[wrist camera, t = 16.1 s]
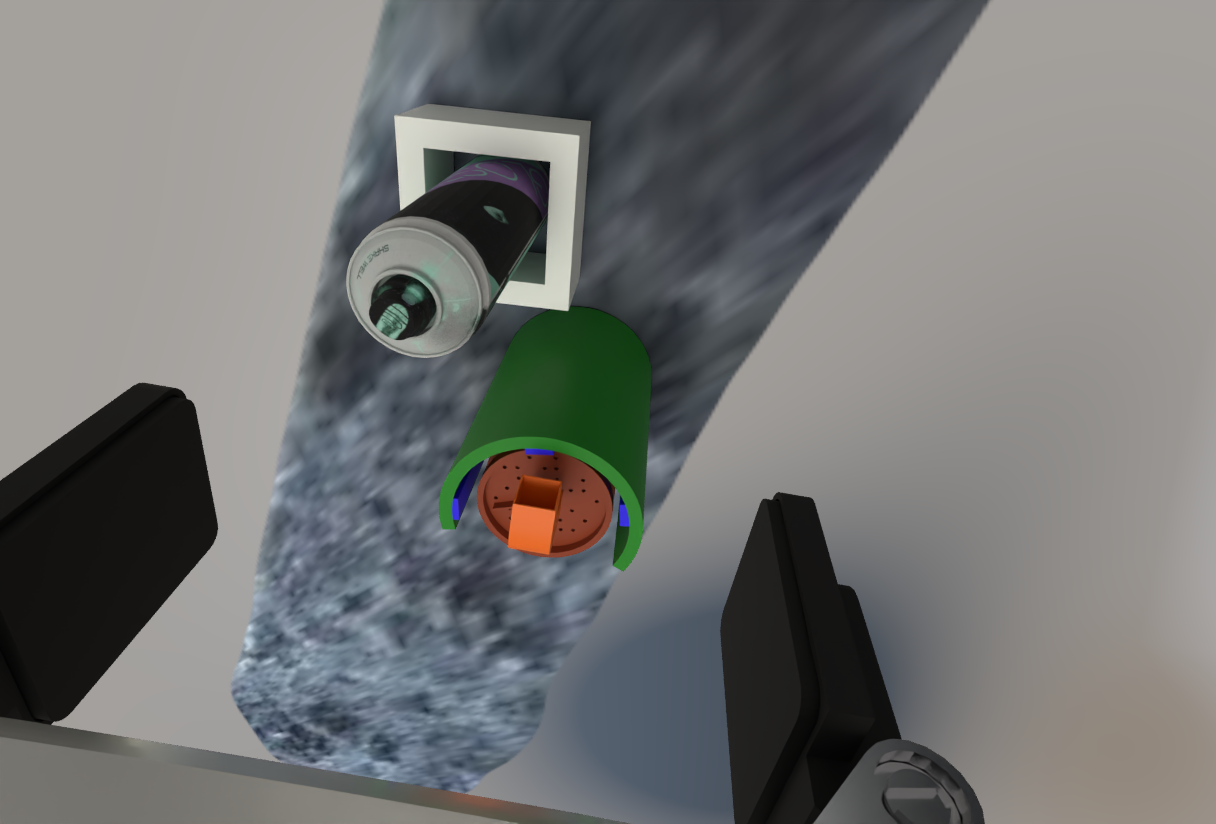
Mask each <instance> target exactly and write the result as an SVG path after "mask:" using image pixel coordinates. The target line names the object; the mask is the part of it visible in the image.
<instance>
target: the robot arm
mask: <svg viewBox="0 0 1216 824" xmlns="http://www.w3.org/2000/svg"><path fill="white" fill-rule="evenodd" d="M217 530H218V523H217V518H216V512H215V507H214V502H213V497H212V492H211V486H210V481H209V476H208V471H207V465H206V461H205V455H204V450H203V445H202V440H201V435H200V429H199V424H198V419H197V414H196V409H195V406H194V404H193V402H192V401H191V400H188V399H186V396H185V394H184V393H183V391H181V390H179V389H177V388H172V387H166V386H159V385H154V384H148V383H138V384H136V385H134V386H132V387H131V388H130V389H128V390H127V391H126V392H124V393H123V394H121V395H120V396H118V397H117V398H116V399H114V400H113V401H111V402H110V403H109V404H107V405H106V406H104V407H103V408H102V409H100V410H99V411H98V412H96V413H95V414H93V415H92V416H90V417H89V418H88V419H86V420H85V421H83V422H82V423H81V424H79V425H78V426H76V427H75V428H74V429H72V430H71V431H69V432H68V433H67V434H65V435H64V436H62V437H61V438H60V439H58V440H57V441H55V442H54V443H53V444H51V445H50V446H48V447H47V448H46V449H44V450H43V451H41V452H40V453H39V454H37V455H36V456H35V457H33V458H31V459H30V460H29V461H27V462H26V463H24V464H23V465H22V466H20V467H19V468H17V469H16V470H15V471H13V472H12V473H10V474H9V475H8V476H6V477H5V478H3V479H2V480H1V481H0V824H630V823H625V822H619V821H614V820H609V819H604V818H599V817H593V816H588V815H583V814H578V813H572V812H566V811H560V810H555V809H548V808H543V807H537V806H532V805H526V804H520V803H514V802H508V801H502V800H497V799H491V798H485V797H480V796H473V795H468V794H462V793H457V792H451V791H445V790H439V789H433V788H428V787H422V786H416V785H410V784H405V783H399V782H393V781H387V780H381V779H375V778H369V777H363V776H357V775H351V774H345V773H339V772H333V771H328V770H322V769H316V768H310V767H304V766H298V765H292V764H286V763H280V762H274V761H268V760H262V759H256V758H250V757H244V756H238V755H232V754H226V753H220V752H214V751H208V750H202V749H195V748H189V747H184V746H178V745H171V744H165V743H159V742H153V741H147V740H140V739H134V738H128V737H122V736H116V735H110V734H103V733H97V732H91V731H85V730H79V729H73V728H67V727H61V726H54V725H51V724H52V723H53V722H54V721H55V722H56V721H60V720H62V719H64V718H65V717H67V716H68V715H69V714H70V713H71V712H72V711H73V710H74V708H75V707H76V706H77V705H78V704H79V703H80V701H81V700H82V699H83V698H84V697H85V696H86V694H87V693H88V692H89V691H90V690H91V688H92V687H93V686H94V685H95V684H96V683H97V681H98V680H99V679H100V678H101V677H102V676H103V674H104V673H105V672H106V671H107V670H108V668H109V667H110V666H111V665H112V664H113V663H114V661H115V660H116V659H117V658H118V657H119V655H120V654H121V653H122V652H123V650H125V648H126V647H127V646H128V645H129V644H130V642H131V641H132V640H133V639H134V638H135V636H136V635H137V634H138V633H139V632H140V631H141V629H142V628H143V627H144V626H145V625H146V623H147V622H148V621H149V620H150V619H151V618H152V616H153V615H154V614H155V613H156V612H157V610H158V609H159V608H160V607H161V606H162V605H163V603H164V602H165V601H166V600H167V599H168V597H169V596H170V595H171V594H172V593H173V591H174V590H175V589H176V588H177V587H178V586H179V584H180V583H181V582H182V581H183V580H184V578H185V577H186V576H187V575H188V574H189V573H190V571H191V570H192V569H193V568H194V567H195V566H196V564H197V563H198V562H199V561H200V560H201V558H202V557H203V556H204V555H205V554H206V553H207V551H208V550H209V549H210V548H211V546H212V545H213V543H214V541H215V539H216V536H217ZM720 631H721V647H722V660H723V672H724V673H723V674H724V687H725V699H726V713H727V727H728V740H729V754H730V766H731V780H732V794H733V806H734V819H735V824H985V822H984V816H983V810H982V807H981V805H980V803H979V801H978V798H977V796H976V794H975V792H974V790H973V789H972V788H971V786H970V785H969V783H968V782H967V781H966V780H965V778H964V777H963V775H962V774H961V773H960V772H959V771H958V770H957V769H956V768H955V767H954V766H953V765H951V764H950V763H949V762H948V761H947V760H946V759H945V758H943V757H942V756H940V755H939V754H937V753H935V752H934V751H932V750H931V749H929V748H928V747H926V746H923V745H920V744H917V743H914V742H911V741H909V740H902V739H901V735H900V732H899V729H898V726H897V723H896V719H895V716H894V713H893V710H892V707H891V703H890V700H889V697H888V694H887V690H886V687H885V684H884V681H883V677H882V674H881V671H880V668H879V664H878V662H877V658H876V655H875V652H874V648H873V645H872V642H871V639H870V635H869V632H868V629H867V626H866V622H865V619H864V616H863V613H862V610H861V607H860V603H859V600H858V598H857V595H856V593H855V591H854V590H853V589H852V588H851V587H850V586H845V585H840V584H837V580H836V576H835V573H834V570H833V566H832V562H831V559H830V556H829V552H828V548H827V545H826V541H825V537H824V534H823V530H822V527H821V523H820V520H819V516H818V513H817V509H816V506H815V503H814V500H813V499H812V498H809V497H804V496H798V495H792V494H786V493H780V492H778V493H776V494H775V496H774V497H773V499H772V500H769V499H763V500H762V501H761V503H760V506H759V509H758V512H757V515H756V517H755V520H754V523H753V526H752V529H751V532H750V535H749V538H748V541H747V544H746V547H745V549H744V552H743V555H742V558H741V561H740V564H739V567H738V570H737V573H736V575H735V579H734V581H733V584H732V587H731V590H730V593H729V596H728V599H727V602H726V605H725V607H724V610H723V614H722V619H721V630H720Z"/></svg>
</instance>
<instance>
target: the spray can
mask: <svg viewBox="0 0 1216 824" xmlns="http://www.w3.org/2000/svg"><path fill="white" fill-rule="evenodd" d="M549 183H550V180H549V177H548V175H547V173H546V171H545V170H544V168H543V167H542V165H541V164H540V163H539V162H538V161H537V160H530V159H520V158H511V157H502V156H493V155H484V154H480V155H479V156H477V157H476V158H474V159H473V160H471V161H470V162H469V163H467V164H466V165H464V166H463V167H462V168H460V169H459V170H457V171H456V172H454V173H453V174H452V175H450V176H449V177H447V178H446V179H445V180H443V181H442V182H440V183H439V184H438V185H436V186H435V187H433V188H432V189H430V190H429V191H428V192H426V193H425V194H423V195H422V196H421V197H419V198H418V199H416V200H415V201H414V202H412V203H411V204H409V205H408V206H406V207H405V208H404V209H402V210H401V211H399V212H398V213H397V214H395V215H394V216H392V217H391V218H390V219H388V220H387V221H385V222H384V223H383V224H381V225H380V226H378V227H377V228H375V229H374V230H373V231H371V232H370V233H369V234H368V235H367V236H366V238H365V239H364V240H363V241H362V242H361V244H360V246H359V247H358V248H357V249H356V250H355V252H354V254H353V256H352V258H351V259H350V263H349V266H348V270H347V280H346V285H347V292H348V298H349V301H350V303H351V306H352V309H353V311H354V313H355V315H356V316H357V318H358V320H359V322H360V323H361V324H362V325H363V327H364V328H365V329H366V330H367V332H369V333H370V334H371V335H372V336H373V337H374V338H375V339H376V340H377V341H379V342H380V343H382V344H383V345H385V346H386V347H388V348H390V349H392V350H394V351H397V352H399V353H401V354H405V355H409V356H413V357H422V358H429V357H439V356H442V355H445V354H448V353H451V352H453V351H454V350H456V349H458V348H460V347H461V346H462V345H463V344H464V343H465V342H467V341H468V340H469V339H470V338H471V337H472V336H473V335H474V334H476V332H477V331H478V329H479V328H480V327H481V325H482V324H483V322H484V320H485V319H486V317H487V316H488V314H489V312H490V311H491V309H492V308H493V306H494V304H495V303H496V301H497V300H498V298H499V296H500V295H501V293H502V292H503V290H504V288H505V287H506V285H507V283H508V282H509V280H510V279H511V277H512V275H513V274H514V272H515V271H516V269H517V267H518V266H519V264H520V263H521V261H522V259H523V258H524V256H525V254H526V253H527V251H528V250H529V248H530V246H531V245H532V243H533V242H534V240H535V238H536V237H537V235H538V234H539V232H540V230H541V229H542V227H543V225H544V224H545V222H546V221H547V218H548V206H549Z"/></svg>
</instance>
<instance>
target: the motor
mask: <svg viewBox="0 0 1216 824" xmlns="http://www.w3.org/2000/svg"><path fill="white" fill-rule="evenodd" d="M651 382H652V371H651V364H650V360H649V357H648V354H647V352H646V350H645V348H644V346H643V344H642V342H641V341H640V340H639V338H638V337H637V336H636V334H635V333H634V332H633V331H632V330H631V329H630V328H629V327H628V326H626V325H625V324H624V323H623V322H621V321H620V320H618V319H617V318H615V317H613V316H611V315H609V314H607V313H604V312H602V311H599V310H595V309H591V308H586V307H569V310H568V311H564V310H555V309H552V310H549V311H546V312H544V313H541V314H539V315H537V316H536V317H534V318H532V319H531V320H530V321H528V322H527V323H526V324H525V325H524V326H523V327H522V328H521V329H520V330H519V331H518V332H517V334H516V335H515V336H514V338H513V340H512V342H511V344H510V346H509V348H508V350H507V352H506V354H505V356H504V358H503V360H502V362H501V364H500V367H499V369H498V371H497V373H496V375H495V377H494V379H493V381H492V383H491V385H490V388H489V390H488V392H487V394H486V396H485V398H484V400H483V402H482V404H481V406H480V408H479V411H478V413H477V415H476V417H475V419H474V421H473V423H472V425H471V427H470V429H469V432H468V434H467V436H466V438H465V440H464V442H463V444H462V446H461V448H460V450H459V452H458V455H457V457H456V459H455V461H454V463H453V465H452V467H451V469H450V471H449V473H448V476H447V478H446V480H445V482H444V484H443V487H442V490H441V494H440V500H439V515H440V521H441V525H442V528H443V529H456V527H457V525H458V522H459V520H460V517H461V515H462V512H463V510H464V508H465V505H466V503H467V500H468V498H469V495H470V493H471V491H472V488H473V486H474V483H475V481H476V479H477V476H478V474H479V471H480V469H481V466H482V464H483V462H484V460H485V459H486V458H489V457H490V458H489V461H488V463H487V466H486V469H485V471H484V473H483V475H482V478H481V480H480V483H479V486H478V491H477V504H478V509H479V512H480V515H481V517H482V519H483V521H484V523H485V524H486V526H487V527H488V528H489V529H490V531H491V532H492V533H493V534H494V535H495V536H496V537H497V538H499V539H500V540H501V541H502V542H504V543H505V544H507V545H508V548H513V549H516V550H519V551H521V552H524V553H527V554H530V555H535V556H540V557H564V556H570V555H574V554H577V553H580V552H582V551H584V550H586V549H588V548H590V547H591V546H593V545H594V544H595V543H597V542H598V541H599V540H600V539H601V538H602V537H603V535H604V534H605V532H606V531H607V529H608V527H609V525H610V522H611V518H612V511H613V499H614V494H615V488H616V489H617V491H618V492H619V494H620V503H619V512H618V522H617V531H616V540H615V549H614V559H613V566H615V567H616V568H618V569H620V570H621V571H624V570H625V569H626V568H627V567H628V566H629V564H630V563H631V562H632V560H633V559H634V557H635V555H636V554H637V551H638V549H639V546H640V544H641V540H642V534H643V519H644V502H645V484H646V467H647V450H648V433H649V416H650V399H651Z"/></svg>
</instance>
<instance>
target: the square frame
mask: <svg viewBox="0 0 1216 824" xmlns="http://www.w3.org/2000/svg"><path fill="white" fill-rule="evenodd" d="M590 127H591V121H584V120H575V119H566V118H557V117H547V116H538V115H529V114H520V113H510V112H501V111H492V110H483V109H473V108H464V107H455V106H446V105H436V104H426V105H423V106H420V107H417V108H414V109H412V110H409V111H406V112H403V113H400V114H398V115H395V131H396V146H397V162H398V178H399V194H400V210H402V209H404V208H405V207H406V206H408V205H409V204H411V203H412V202H414V201H415V200H416V199H418V198H419V197H421V196H422V195H423V194H425V193H426V192H428V191H429V190H430V189H432V188H433V187H435V186H436V185H438V184H439V183H440V182H442V181H443V180H445V179H446V178H447V177H449V176H450V175H452V174H453V173H454V156H453V151H457V152H466V153H475V154H484V155H493V156H502V157H511V158H520V159H530V160H539V161H548V162H550V183H549V206H548V228H547V250H546V254H544V253H535V252H527V253H526V254H525V256H524V258H523V259H522V261H521V263H520V264H519V266H518V267H517V269H516V271H515V272H514V274H513V275H512V277H511V279H510V280H509V282H508V283H507V285H506V287H505V288H504V290H503V292H502V293H501V295H500V296H499V298H498V300H497V301H496V303H503V304H512V305H521V306H529V307H538V308H547V309H555V310H564V311H568V310H569V307H570V305H571V302H572V299H573V296H574V293H575V291H576V288H577V285H578V282H579V279H580V267H581V253H582V239H583V225H584V211H585V197H586V183H587V169H588V155H589V141H590Z"/></svg>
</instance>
